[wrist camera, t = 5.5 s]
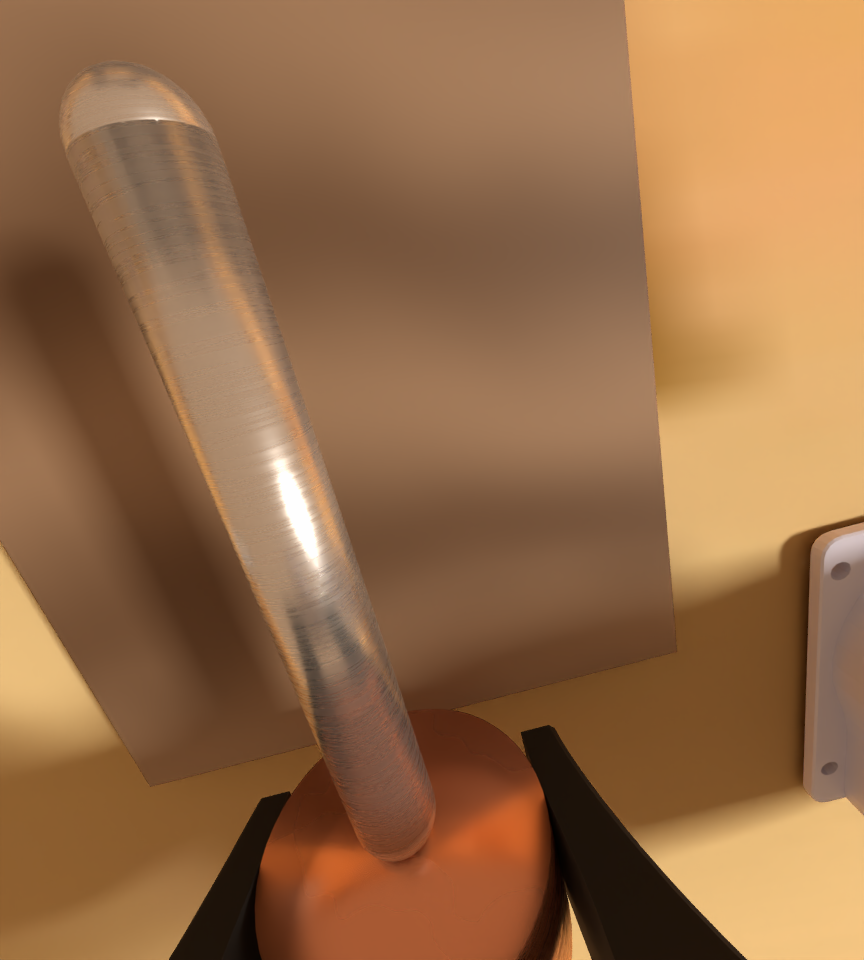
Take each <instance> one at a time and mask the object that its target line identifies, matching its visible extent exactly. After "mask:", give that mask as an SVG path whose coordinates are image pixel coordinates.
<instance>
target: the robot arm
mask: <svg viewBox="0 0 864 960" xmlns="http://www.w3.org/2000/svg"><path fill="white" fill-rule="evenodd" d="M834 566H835V567H834ZM521 735H522V739H523V743H524V748H525V752H526V756H527V759H528V761H529V762H530V764H531V766H532V768H533V769H534V771H535V773H536V775H537V777H538V780H539V782H540V785H541V787H542V790H543V793H544V797H545V801H546V805H547V809H548V813H549V817H550V822H551V826H552V831H553V835H554V839H555V844H556V848H557V853H558V857H559V862H560V866H561V871H562V875H563V880H564V884H565V889H566V892H567V895H568V898H569V900H570V903H571V906H572V908H573V911H574V914H575V916H576V919H577V922H578V924H579V927H580V930H581V932H582V935H583V937H584V940H585V943H586V945H587V948H588V951H589V953H590V956H591V959H592V960H747V959H746V958H745V957H744V956H743V955H742V954H741V953H740V952H739V951H738V950H737V949H736V948H735V947H734V946H733V945H732V944H731V943H730V942H729V941H728V940H727V939H726V938H725V937H724V936H723V935H722V934H721V933H720V932H719V931H718V930H717V929H716V928H715V927H714V926H713V925H712V924H711V923H710V922H709V921H708V920H707V919H706V918H705V917H704V916H703V915H702V914H701V912H700V911H699V910H698V909H697V908H696V907H695V906H694V905H693V904H692V903H691V902H690V901H689V900H688V899H687V898H686V897H685V895H684V894H683V893H682V892H681V891H680V890H679V889H678V888H677V887H676V886H675V885H674V883H673V882H672V881H671V880H670V879H669V878H668V877H667V876H666V875H665V873H664V872H663V871H662V870H661V869H660V868H659V867H658V866H657V864H656V863H655V862H654V861H653V860H652V859H651V858H650V856H649V855H648V854H647V853H646V852H645V851H644V850H643V848H642V847H641V846H640V845H639V844H638V842H637V841H636V840H635V839H634V838H633V836H632V835H631V834H630V833H629V832H628V831H627V829H626V828H625V827H624V826H623V824H622V823H621V822H620V821H619V819H618V818H617V817H616V815H615V814H614V813H613V812H612V810H611V809H610V808H609V807H608V805H607V804H606V803H605V802H604V800H603V799H602V798H601V797H600V795H599V794H598V793H597V791H596V790H595V789H594V787H593V786H592V785H591V783H590V782H589V780H588V779H587V778H586V776H585V775H584V774H583V772H582V771H581V769H580V768H579V767H578V765H577V764H576V762H575V761H574V759H573V758H572V756H571V755H570V753H569V752H568V750H567V749H566V747H565V745H564V744H563V742H562V740H561V739H560V737H559V735H558V734H557V732H556V730H555V728H553V727H551V726H549V725H547V726H543V727H539V728H536V729H532V730H528V731H524V732H521ZM803 786H804V789H805V790H806V792H807V793H808V794H809V795H810V796H811V797H812V798H813V799H814V800H815V801H819V802H828V801H832V800H836V799H840V798H844V797H846V798H847V799H848V800H849V801H850V802H851V803H852V804H853V805H854V806H855V807H856V808H857V809H858V810H859V811H860V812H861V813H862V814H863V815H864V522H863V523H859V524H855V525H851V526H847V527H843V528H840V529H836V530H832V531H829V532H826V533H824V534H822V535H821V536H820V537H818V538H817V539H816V540H815V542H814V543H813V545H812V549H811V556H810V587H809V618H808V650H807V681H806V712H805V744H804V775H803ZM290 796H291V794H290V792H285V793H281V794H277V795H273V796H269V797H265V798H262V799H261V800H260V802H259V803H258V805H257V807H256V809H255V810H254V812H253V814H252V816H251V817H250V819H249V821H248V823H247V825H246V826H245V828H244V830H243V832H242V834H241V835H240V837H239V839H238V841H237V843H236V845H235V846H234V848H233V850H232V852H231V854H230V855H229V857H228V859H227V861H226V862H225V864H224V866H223V868H222V870H221V871H220V873H219V875H218V877H217V878H216V880H215V882H214V884H213V885H212V887H211V889H210V891H209V892H208V894H207V896H206V898H205V899H204V901H203V903H202V904H201V906H200V908H199V910H198V911H197V913H196V915H195V916H194V918H193V920H192V922H191V923H190V925H189V927H188V929H187V930H186V932H185V934H184V935H183V937H182V939H181V940H180V942H179V944H178V945H177V947H176V948H175V950H174V952H173V953H172V955H171V957H170V958H169V960H262V959H261V956H260V953H259V947H258V941H257V936H256V929H255V897H256V885H257V880H258V875H259V870H260V865H261V861H262V858H263V854H264V851H265V848H266V844H267V842H268V839H269V837H270V835H271V832H272V830H273V827H274V825H275V823H276V821H277V819H278V817H279V815H280V813H281V811H282V809H283V807H284V806H285V804H286V803H287V801H288V799H289V798H290Z"/></svg>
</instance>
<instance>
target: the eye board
mask: <svg viewBox="0 0 864 960" xmlns="http://www.w3.org/2000/svg"><path fill="white" fill-rule="evenodd" d="M105 61H126V62H132V63H137V64H141V65H144V66H146V67H149V68H151V69H153V70H155V71H157V72H159V73H160V74H162V75H164V76H166V77H167V78H169V79H170V80H172V81H173V82H174V83H175V84H177V85H178V86H179V87H180V88H181V89H183V90H184V91H185V92H186V93H187V94H188V95H189V96H190V97H191V98H192V100H193V101H194V102H195V103H196V104H197V105H198V106H199V108H200V109H201V111H202V113H203V114H204V116H205V117H206V119H207V121H208V122H209V124H210V125H211V127H212V129H213V132H214V134H215V136H216V139H217V141H218V144H219V147H220V150H221V153H222V156H223V159H224V162H225V165H226V168H227V171H228V174H229V177H230V180H231V183H232V186H233V189H234V192H235V195H236V198H237V201H238V204H239V207H240V210H241V213H242V216H243V219H244V222H245V225H246V228H247V231H248V234H249V237H250V240H251V243H252V246H253V249H254V252H255V255H256V258H257V261H258V264H259V267H260V270H261V273H262V276H263V279H264V282H265V285H266V288H267V291H268V294H269V297H270V300H271V303H272V306H273V309H274V312H275V315H276V318H277V322H278V325H279V328H280V331H281V334H282V337H283V340H284V343H285V346H286V349H287V352H288V355H289V358H290V361H291V364H292V367H293V370H294V373H295V376H296V379H297V382H298V385H299V388H300V391H301V394H302V397H303V400H304V403H305V406H306V409H307V412H308V415H309V418H310V421H311V424H312V427H313V430H314V433H315V436H316V439H317V442H318V445H319V448H320V451H321V454H322V457H323V460H324V463H325V466H326V469H327V472H328V475H329V478H330V481H331V484H332V487H333V490H334V493H335V496H336V499H337V502H338V505H339V508H340V511H341V514H342V517H343V520H344V523H345V526H346V529H347V532H348V535H349V538H350V541H351V544H352V547H353V550H354V553H355V556H356V559H357V562H358V565H359V568H360V571H361V574H362V577H363V580H364V583H365V586H366V589H367V592H368V595H369V598H370V601H371V604H372V607H373V610H374V613H375V616H376V619H377V622H378V625H379V628H380V631H381V634H382V637H383V640H384V643H385V646H386V649H387V652H388V655H389V658H390V661H391V664H392V667H393V670H394V673H395V676H396V679H397V682H398V685H399V688H400V691H401V694H402V697H403V701H404V704H405V707H406V710H407V711H412V710H421V709H446V710H451V709H455V708H459V707H463V706H467V705H471V704H475V703H479V702H483V701H486V700H490V699H494V698H498V697H502V696H506V695H510V694H514V693H518V692H522V691H525V690H529V689H533V688H537V687H541V686H545V685H549V684H553V683H557V682H560V681H564V680H568V679H572V678H576V677H580V676H584V675H588V674H592V673H596V672H599V671H603V670H607V669H611V668H615V667H619V666H623V665H627V664H631V663H635V662H638V661H642V660H646V659H650V658H654V657H658V656H662V655H666V654H670V653H674V652H677V645H676V633H675V621H674V608H673V596H672V584H671V572H670V559H669V547H668V535H667V522H666V510H665V498H664V485H663V473H662V461H661V448H660V436H659V424H658V411H657V399H656V387H655V374H654V362H653V350H652V338H651V325H650V313H649V301H648V288H647V276H646V264H645V251H644V239H643V227H642V214H641V202H640V190H639V177H638V165H637V153H636V140H635V128H634V116H633V103H632V91H631V79H630V67H629V54H628V42H627V30H626V17H625V5H624V0H0V541H1V543H2V544H3V546H4V548H5V549H6V551H7V553H8V554H9V556H10V558H11V559H12V561H13V562H14V564H15V566H16V567H17V569H18V571H19V572H20V574H21V576H22V577H23V579H24V581H25V582H26V584H27V585H28V587H29V589H30V590H31V592H32V594H33V595H34V597H35V599H36V600H37V602H38V603H39V605H40V607H41V608H42V610H43V612H44V613H45V615H46V617H47V618H48V620H49V622H50V623H51V625H52V626H53V628H54V630H55V631H56V633H57V635H58V636H59V638H60V640H61V641H62V643H63V644H64V646H65V648H66V649H67V651H68V653H69V654H70V656H71V658H72V659H73V661H74V663H75V664H76V666H77V667H78V669H79V671H80V672H81V674H82V676H83V677H84V679H85V681H86V682H87V684H88V686H89V687H90V689H91V690H92V692H93V694H94V695H95V697H96V699H97V700H98V702H99V704H100V705H101V707H102V708H103V710H104V712H105V713H106V715H107V717H108V718H109V720H110V722H111V723H112V725H113V727H114V728H115V730H116V731H117V733H118V735H119V736H120V738H121V740H122V741H123V743H124V745H125V746H126V748H127V750H128V751H129V753H130V754H131V756H132V758H133V759H134V761H135V763H136V764H137V766H138V768H139V769H140V771H141V772H142V774H143V776H144V777H145V779H146V781H147V782H148V784H149V786H150V787H151V786H155V785H159V784H163V783H167V782H171V781H175V780H178V779H182V778H186V777H190V776H194V775H198V774H202V773H206V772H210V771H214V770H217V769H221V768H225V767H229V766H233V765H237V764H241V763H245V762H249V761H253V760H256V759H260V758H264V757H268V756H272V755H276V754H280V753H284V752H288V751H291V750H295V749H299V748H303V747H307V746H311V745H315V744H317V742H316V740H315V737H314V735H313V733H312V730H311V728H310V726H309V723H308V721H307V719H306V716H305V714H304V712H303V709H302V707H301V705H300V702H299V700H298V697H297V695H296V693H295V690H294V688H293V686H292V683H291V681H290V679H289V676H288V674H287V672H286V669H285V667H284V665H283V662H282V660H281V658H280V655H279V653H278V651H277V648H276V646H275V644H274V641H273V639H272V637H271V634H270V632H269V630H268V627H267V625H266V623H265V620H264V618H263V616H262V613H261V611H260V609H259V606H258V604H257V602H256V599H255V597H254V595H253V592H252V590H251V587H250V585H249V583H248V580H247V578H246V576H245V573H244V571H243V569H242V566H241V564H240V562H239V559H238V557H237V555H236V552H235V550H234V548H233V545H232V543H231V541H230V538H229V536H228V534H227V531H226V529H225V527H224V524H223V522H222V520H221V517H220V515H219V513H218V510H217V508H216V506H215V503H214V501H213V499H212V496H211V494H210V492H209V489H208V487H207V485H206V482H205V480H204V477H203V475H202V473H201V470H200V468H199V466H198V463H197V461H196V459H195V456H194V454H193V452H192V449H191V447H190V445H189V442H188V440H187V438H186V435H185V433H184V431H183V428H182V426H181V424H180V421H179V419H178V417H177V414H176V412H175V410H174V407H173V405H172V403H171V400H170V398H169V396H168V393H167V391H166V389H165V386H164V384H163V382H162V379H161V377H160V375H159V372H158V370H157V367H156V365H155V363H154V360H153V358H152V356H151V353H150V351H149V349H148V346H147V344H146V342H145V339H144V337H143V335H142V332H141V330H140V328H139V325H138V323H137V321H136V318H135V316H134V314H133V311H132V309H131V307H130V304H129V302H128V300H127V297H126V295H125V293H124V290H123V288H122V286H121V283H120V281H119V279H118V276H117V274H116V272H115V269H114V267H113V265H112V262H111V260H110V257H109V255H108V253H107V250H106V248H105V246H104V243H103V241H102V239H101V236H100V234H99V232H98V229H97V227H96V225H95V222H94V220H93V218H92V215H91V213H90V211H89V208H88V206H87V204H86V201H85V199H84V197H83V194H82V192H81V190H80V187H79V185H78V183H77V180H76V178H75V176H74V173H73V171H72V169H71V166H70V164H69V162H68V159H67V157H66V153H65V150H64V147H63V143H62V140H61V137H60V128H59V114H60V106H61V100H62V97H63V95H64V93H65V90H66V88H67V86H68V85H69V83H70V81H71V80H72V79H73V78H74V77H75V76H76V75H77V74H78V73H80V72H81V71H82V70H83V69H85V68H87V67H89V66H91V65H94V64H97V63H101V62H105Z"/></svg>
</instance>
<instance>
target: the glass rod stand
mask: <svg viewBox="0 0 864 960" xmlns="http://www.w3.org/2000/svg"><path fill="white" fill-rule="evenodd" d="M59 128H60V137H61V140H62V143H63V147H64V150H65V153H66V157H67V159H68V162H69V164H70V166H71V169H72V171H73V173H74V176H75V178H76V180H77V183H78V185H79V187H80V190H81V192H82V194H83V197H84V199H85V201H86V204H87V206H88V208H89V211H90V213H91V215H92V218H93V220H94V222H95V225H96V227H97V229H98V232H99V234H100V236H101V239H102V241H103V243H104V246H105V248H106V250H107V253H108V255H109V257H110V260H111V262H112V265H113V267H114V269H115V272H116V274H117V276H118V279H119V281H120V283H121V286H122V288H123V290H124V293H125V295H126V297H127V300H128V302H129V304H130V307H131V309H132V311H133V314H134V316H135V318H136V321H137V323H138V325H139V328H140V330H141V332H142V335H143V337H144V339H145V342H146V344H147V346H148V349H149V351H150V353H151V356H152V358H153V360H154V363H155V365H156V367H157V370H158V372H159V375H160V377H161V379H162V382H163V384H164V386H165V389H166V391H167V393H168V396H169V398H170V400H171V403H172V405H173V407H174V410H175V412H176V414H177V417H178V419H179V421H180V424H181V426H182V428H183V431H184V433H185V435H186V438H187V440H188V442H189V445H190V447H191V449H192V452H193V454H194V456H195V459H196V461H197V463H198V466H199V468H200V470H201V473H202V475H203V477H204V480H205V482H206V485H207V487H208V489H209V492H210V494H211V496H212V499H213V501H214V503H215V506H216V508H217V510H218V513H219V515H220V517H221V520H222V522H223V524H224V527H225V529H226V531H227V534H228V536H229V538H230V541H231V543H232V545H233V548H234V550H235V552H236V555H237V557H238V559H239V562H240V564H241V566H242V569H243V571H244V573H245V576H246V578H247V580H248V583H249V585H250V587H251V590H252V592H253V595H254V597H255V599H256V602H257V604H258V606H259V609H260V611H261V613H262V616H263V618H264V620H265V623H266V625H267V627H268V630H269V632H270V634H271V637H272V639H273V641H274V644H275V646H276V648H277V651H278V653H279V655H280V658H281V660H282V662H283V665H284V667H285V669H286V672H287V674H288V676H289V679H290V681H291V683H292V686H293V688H294V690H295V693H296V695H297V697H298V700H299V702H300V705H301V707H302V709H303V712H304V714H305V716H306V719H307V721H308V723H309V726H310V728H311V730H312V733H313V735H314V737H315V740H316V742H317V744H318V747H319V749H320V751H321V754H322V756H323V758H322V759H321V760H319V761H318V762H317V763H316V765H315V766H314V767H313V768H312V769H311V770H310V771H309V772H308V773H307V774H306V776H305V777H304V778H303V780H302V781H301V782H300V783H299V785H298V786H297V787H296V789H295V790H294V792H293V793H292V795H291V796H290V798H289V799H288V801H287V803H286V804H285V806H284V807H283V809H282V811H281V813H280V815H279V817H278V819H277V821H276V823H275V825H274V827H273V830H272V832H271V835H270V837H269V839H268V842H267V844H266V848H265V851H264V854H263V858H262V861H261V865H260V870H259V875H258V880H257V885H256V897H255V929H256V936H257V941H258V947H259V953H260V956H261V959H262V960H571V958H572V924H571V917H570V909H569V902H568V898H567V893H566V889H565V884H564V880H563V875H562V871H561V866H560V862H559V857H558V853H557V848H556V844H555V839H554V835H553V831H552V826H551V822H550V817H549V813H548V809H547V805H546V801H545V797H544V793H543V790H542V787H541V785H540V782H539V780H538V777H537V775H536V773H535V771H534V769H533V768H532V766H531V764H530V762H529V761H528V759H527V758H526V756H525V755H524V754H523V752H522V751H521V750H520V748H519V747H518V746H517V745H516V744H515V743H514V742H513V741H512V740H511V739H510V738H509V737H508V736H507V735H506V734H504V733H503V732H502V731H500V730H499V729H498V728H496V727H495V726H493V725H491V724H490V723H488V722H486V721H484V720H482V719H480V718H478V717H475V716H473V715H470V714H466V713H463V712H459V711H454V710H446V709H421V710H412V711H407V710H406V707H405V704H404V701H403V697H402V694H401V691H400V688H399V685H398V682H397V679H396V676H395V673H394V670H393V667H392V664H391V661H390V658H389V655H388V652H387V649H386V646H385V643H384V640H383V637H382V634H381V631H380V628H379V625H378V622H377V619H376V616H375V613H374V610H373V607H372V604H371V601H370V598H369V595H368V592H367V589H366V586H365V583H364V580H363V577H362V574H361V571H360V568H359V565H358V562H357V559H356V556H355V553H354V550H353V547H352V544H351V541H350V538H349V535H348V532H347V529H346V526H345V523H344V520H343V517H342V514H341V511H340V508H339V505H338V502H337V499H336V496H335V493H334V490H333V487H332V484H331V481H330V478H329V475H328V472H327V469H326V466H325V463H324V460H323V457H322V454H321V451H320V448H319V445H318V442H317V439H316V436H315V433H314V430H313V427H312V424H311V421H310V418H309V415H308V412H307V409H306V406H305V403H304V400H303V397H302V394H301V391H300V388H299V385H298V382H297V379H296V376H295V373H294V370H293V367H292V364H291V361H290V358H289V355H288V352H287V349H286V346H285V343H284V340H283V337H282V334H281V331H280V328H279V325H278V322H277V318H276V315H275V312H274V309H273V306H272V303H271V300H270V297H269V294H268V291H267V288H266V285H265V282H264V279H263V276H262V273H261V270H260V267H259V264H258V261H257V258H256V255H255V252H254V249H253V246H252V243H251V240H250V237H249V234H248V231H247V228H246V225H245V222H244V219H243V216H242V213H241V210H240V207H239V204H238V201H237V198H236V195H235V192H234V189H233V186H232V183H231V180H230V177H229V174H228V171H227V168H226V165H225V162H224V159H223V156H222V153H221V150H220V147H219V144H218V141H217V139H216V136H215V134H214V132H213V129H212V127H211V125H210V124H209V122H208V121H207V119H206V117H205V116H204V114H203V113H202V111H201V109H200V108H199V106H198V105H197V104H196V103H195V102H194V101H193V100H192V98H191V97H190V96H189V95H188V94H187V93H186V92H185V91H184V90H183V89H181V88H180V87H179V86H178V85H177V84H175V83H174V82H173V81H172V80H170V79H169V78H167V77H166V76H164V75H162V74H160V73H159V72H157V71H155V70H153V69H151V68H149V67H146V66H144V65H141V64H137V63H132V62H126V61H105V62H101V63H97V64H94V65H91V66H89V67H87V68H85V69H83V70H82V71H81V72H80V73H78V74H77V75H76V76H75V77H74V78H73V79H72V80H71V81H70V83H69V85H68V86H67V88H66V90H65V93H64V95H63V97H62V100H61V106H60V114H59Z"/></svg>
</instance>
